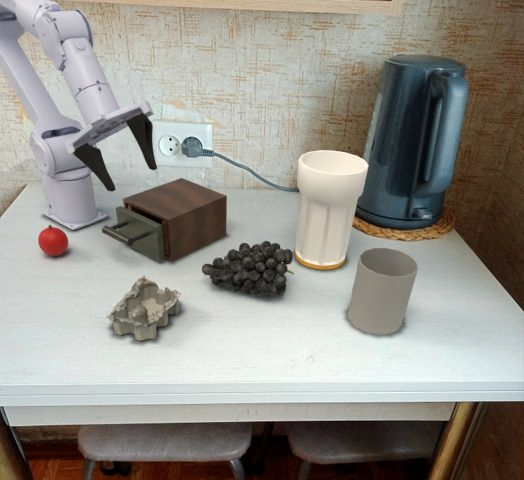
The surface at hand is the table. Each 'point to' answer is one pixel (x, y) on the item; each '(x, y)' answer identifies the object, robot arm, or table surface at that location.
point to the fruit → (252, 269)
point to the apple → (53, 241)
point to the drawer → (140, 232)
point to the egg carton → (144, 309)
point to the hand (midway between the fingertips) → (132, 179)
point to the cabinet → (185, 214)
